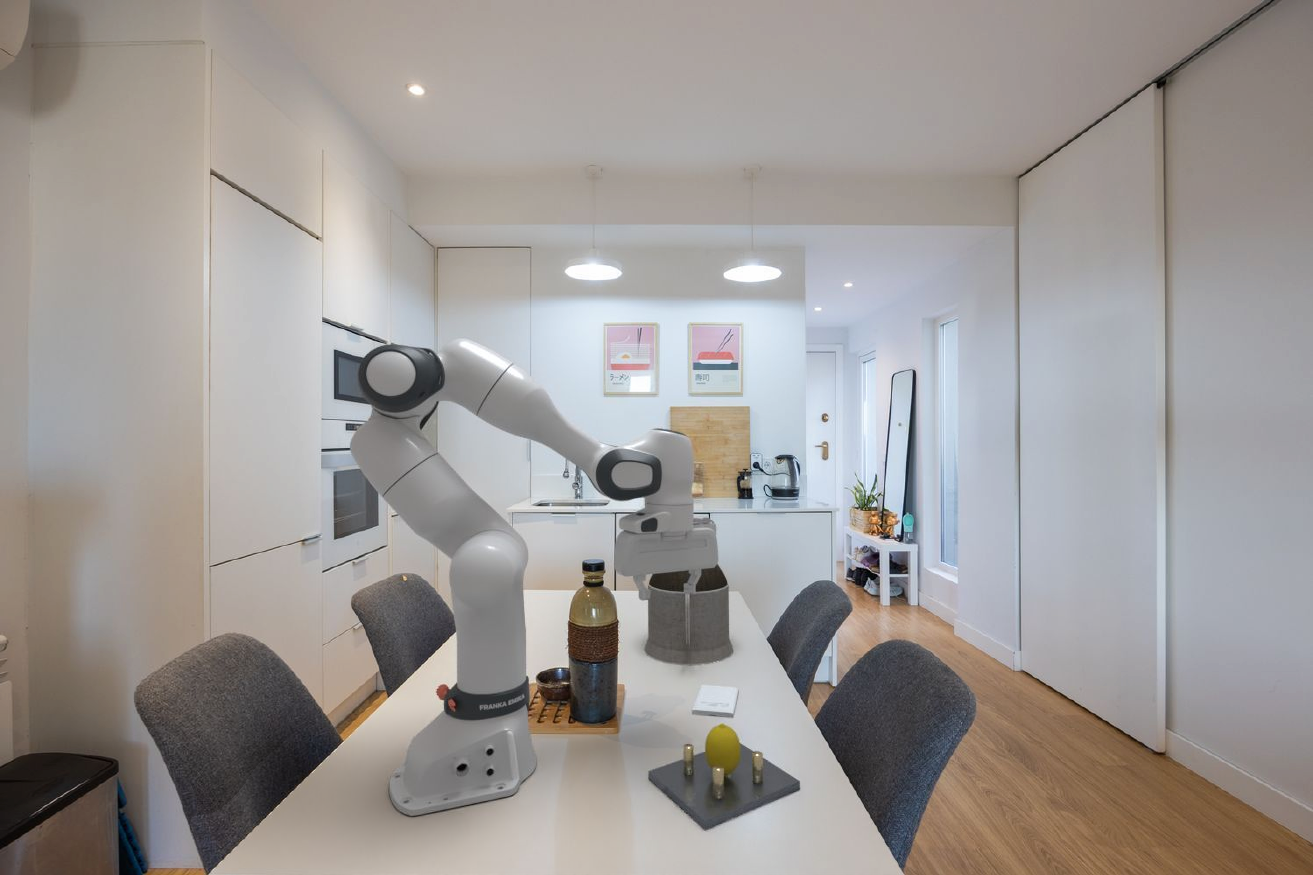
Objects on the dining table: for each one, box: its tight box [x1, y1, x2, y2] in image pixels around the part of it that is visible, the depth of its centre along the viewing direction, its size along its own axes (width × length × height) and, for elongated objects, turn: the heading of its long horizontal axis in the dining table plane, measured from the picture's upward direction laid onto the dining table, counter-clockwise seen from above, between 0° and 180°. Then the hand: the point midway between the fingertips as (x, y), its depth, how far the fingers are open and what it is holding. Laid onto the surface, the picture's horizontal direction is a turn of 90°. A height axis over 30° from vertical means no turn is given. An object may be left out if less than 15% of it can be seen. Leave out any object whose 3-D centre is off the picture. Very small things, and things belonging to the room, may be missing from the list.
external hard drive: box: [691, 684, 740, 719], centre depth 121 cm, size 2×8×12 cm
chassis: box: [647, 742, 801, 831], centre depth 92 cm, size 18×15×5 cm
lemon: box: [704, 723, 741, 776], centre depth 92 cm, size 6×6×8 cm
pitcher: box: [643, 562, 735, 666], centre depth 150 cm, size 23×32×25 cm
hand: (667, 596), depth 106 cm, fingers open, 8 cm apart
